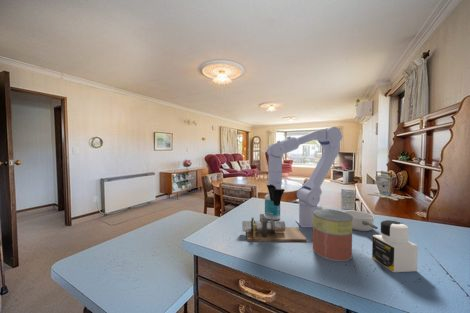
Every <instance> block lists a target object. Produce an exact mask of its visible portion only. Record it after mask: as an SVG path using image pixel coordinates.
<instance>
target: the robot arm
mask: <svg viewBox="0 0 470 313" xmlns="http://www.w3.org/2000/svg"><path fill="white" fill-rule="evenodd" d="M342 139H343V134H342V131H341V129H339V127H337V126H332V127H328V128H321V129H317V130H313V131H310V132H307V133H306V134H304V135H300V136H299V137H296V136H286V139H283V140H277V141H276V143H272V144H270V145H269V146H268V147H267V149H266V154H267V156H268V169H267V170H268V172H267V173H268V176H267V177H268V178H267V179H268V180H267V181H266V180H265V182H264V183H265V184H266V188H267V191H268V190H269V195H270V200H271V201H273V203H274V206H279V205H280V206H281V200H282V197H283V194H284V193H285V191H286V190H285V188H282V185H283V156H284V155H285V154H288V153H290V152H293V151H296V150H297V149H299V147H300V145H303V144H305V143H309V142H311V141H317V142H318V143H319V144H320V146H321V147H322V148H323V149H322V150H323V153H322V155H321V157H320V158H319V160H318V162H317V164H316V165H315V168H314V170H313V171H312V174H310V176H309V178H308V180H307V181H306V182H305V183H303V184H302V186H301V187H300V188H299V189H297V191H296V197H297V199H298V200H299V201H298V219H295V222H296V223H297V225H299V226H300V227H301V228H313V211H315V210H318V209H323V206H322V205H321V204H319V203H320V201H321V195H322V193H323V192H322V188H321V187H322V184H323V182H324V181H325V179H326V178H327V174H328V173H329V171H330V169H331V168H332V166H333V164H334V162H335V160H336V159H337V156H338V154H339V152H340V146H341V140H342Z"/></svg>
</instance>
